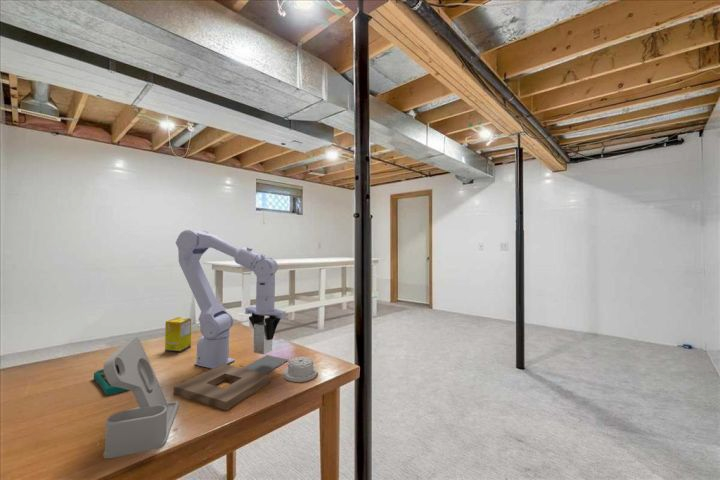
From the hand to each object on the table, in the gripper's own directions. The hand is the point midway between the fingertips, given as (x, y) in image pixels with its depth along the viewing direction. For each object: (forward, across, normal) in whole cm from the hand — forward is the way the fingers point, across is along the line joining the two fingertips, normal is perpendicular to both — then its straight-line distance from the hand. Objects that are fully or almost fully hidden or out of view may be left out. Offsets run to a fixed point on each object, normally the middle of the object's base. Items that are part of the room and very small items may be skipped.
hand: (264, 338), depth 98 cm
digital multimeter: (+10, -29, -26) cm, 40 cm away
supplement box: (+9, -37, -2) cm, 38 cm away
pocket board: (+9, 0, -16) cm, 18 cm away
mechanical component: (+9, +14, 0) cm, 17 cm away
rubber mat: (+9, 0, 0) cm, 9 cm away
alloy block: (+4, 0, -1) cm, 4 cm away
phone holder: (+9, -1, -36) cm, 37 cm away
